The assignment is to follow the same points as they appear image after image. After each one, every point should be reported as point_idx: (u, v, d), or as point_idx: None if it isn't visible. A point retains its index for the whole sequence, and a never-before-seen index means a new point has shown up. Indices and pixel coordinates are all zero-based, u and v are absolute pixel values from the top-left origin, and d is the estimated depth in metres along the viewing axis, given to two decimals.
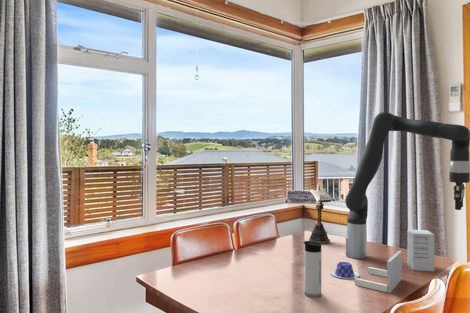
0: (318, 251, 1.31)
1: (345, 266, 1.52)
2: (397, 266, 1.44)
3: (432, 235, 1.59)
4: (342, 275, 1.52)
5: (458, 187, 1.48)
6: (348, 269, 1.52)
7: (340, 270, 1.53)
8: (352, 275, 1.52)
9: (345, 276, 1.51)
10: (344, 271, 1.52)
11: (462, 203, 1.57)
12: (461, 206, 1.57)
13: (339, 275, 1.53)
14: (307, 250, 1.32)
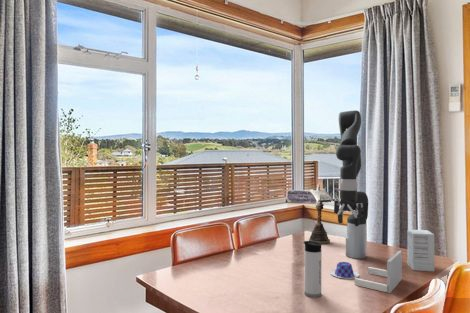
0: (318, 251, 1.31)
1: (345, 266, 1.52)
2: (397, 266, 1.44)
3: (432, 235, 1.59)
4: (342, 275, 1.52)
5: (362, 204, 1.55)
6: (348, 269, 1.52)
7: (340, 270, 1.53)
8: (352, 275, 1.52)
9: (345, 276, 1.52)
10: (344, 271, 1.52)
11: (342, 219, 1.64)
12: (342, 222, 1.64)
13: (339, 275, 1.53)
14: (307, 250, 1.32)
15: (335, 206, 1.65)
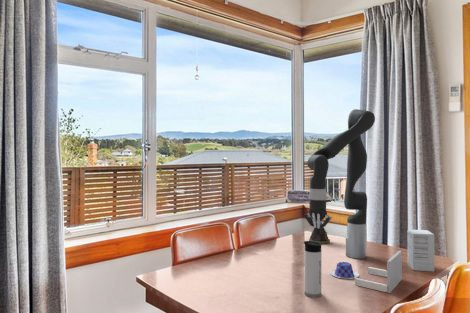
0: (318, 251, 1.31)
1: (345, 266, 1.52)
2: (397, 266, 1.44)
3: (432, 235, 1.59)
4: (342, 275, 1.52)
5: (330, 219, 1.59)
6: (348, 269, 1.52)
7: (340, 270, 1.53)
8: (352, 275, 1.52)
9: (345, 276, 1.51)
10: (344, 271, 1.52)
11: None
12: None
13: (339, 275, 1.53)
14: (307, 250, 1.32)
15: (308, 219, 1.64)
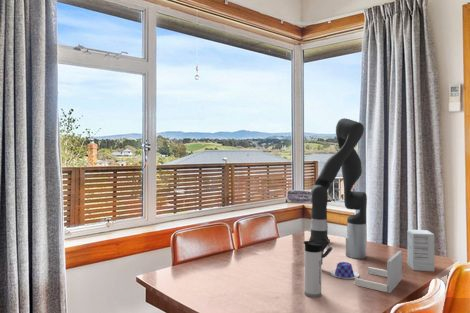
0: (318, 251, 1.31)
1: (345, 266, 1.52)
2: (397, 266, 1.44)
3: (432, 235, 1.59)
4: (342, 275, 1.52)
5: (331, 249, 1.59)
6: (348, 269, 1.52)
7: (340, 270, 1.53)
8: (352, 275, 1.52)
9: (345, 276, 1.51)
10: (344, 271, 1.52)
11: None
12: None
13: (339, 275, 1.53)
14: (307, 250, 1.32)
15: None
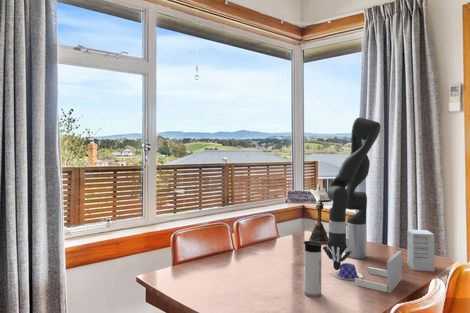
0: (318, 251, 1.31)
1: (348, 267, 1.51)
2: (397, 266, 1.44)
3: (432, 235, 1.59)
4: (345, 277, 1.50)
5: (350, 253, 1.54)
6: (351, 270, 1.50)
7: (343, 271, 1.51)
8: (356, 277, 1.51)
9: (348, 278, 1.50)
10: (347, 272, 1.50)
11: None
12: None
13: (342, 277, 1.51)
14: (307, 250, 1.32)
15: (327, 252, 1.59)
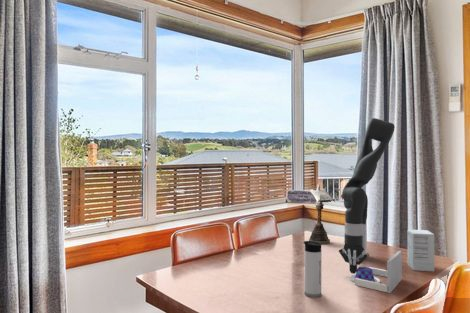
0: (318, 251, 1.31)
1: (365, 271, 1.46)
2: (397, 266, 1.44)
3: (432, 235, 1.59)
4: None
5: (367, 256, 1.49)
6: (368, 274, 1.45)
7: (360, 275, 1.47)
8: (373, 281, 1.46)
9: None
10: (364, 276, 1.45)
11: None
12: None
13: None
14: (307, 250, 1.32)
15: (343, 255, 1.54)
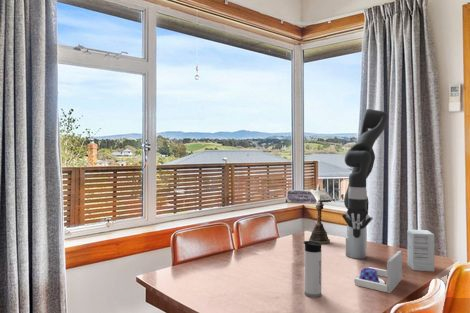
0: (318, 251, 1.31)
1: (369, 273, 1.44)
2: (397, 266, 1.44)
3: (432, 235, 1.59)
4: None
5: (371, 219, 1.48)
6: (373, 276, 1.44)
7: (364, 277, 1.45)
8: (377, 282, 1.44)
9: None
10: (368, 278, 1.44)
11: None
12: None
13: None
14: (307, 250, 1.32)
15: (346, 220, 1.53)
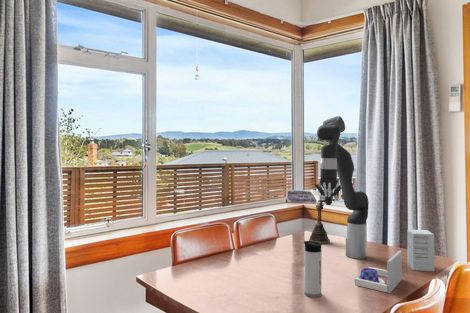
0: (318, 251, 1.31)
1: (369, 273, 1.44)
2: (397, 266, 1.44)
3: (432, 235, 1.59)
4: None
5: (341, 187, 1.62)
6: (372, 276, 1.44)
7: (364, 277, 1.45)
8: (377, 282, 1.44)
9: None
10: (368, 278, 1.44)
11: None
12: None
13: None
14: (307, 250, 1.32)
15: (319, 189, 1.67)
